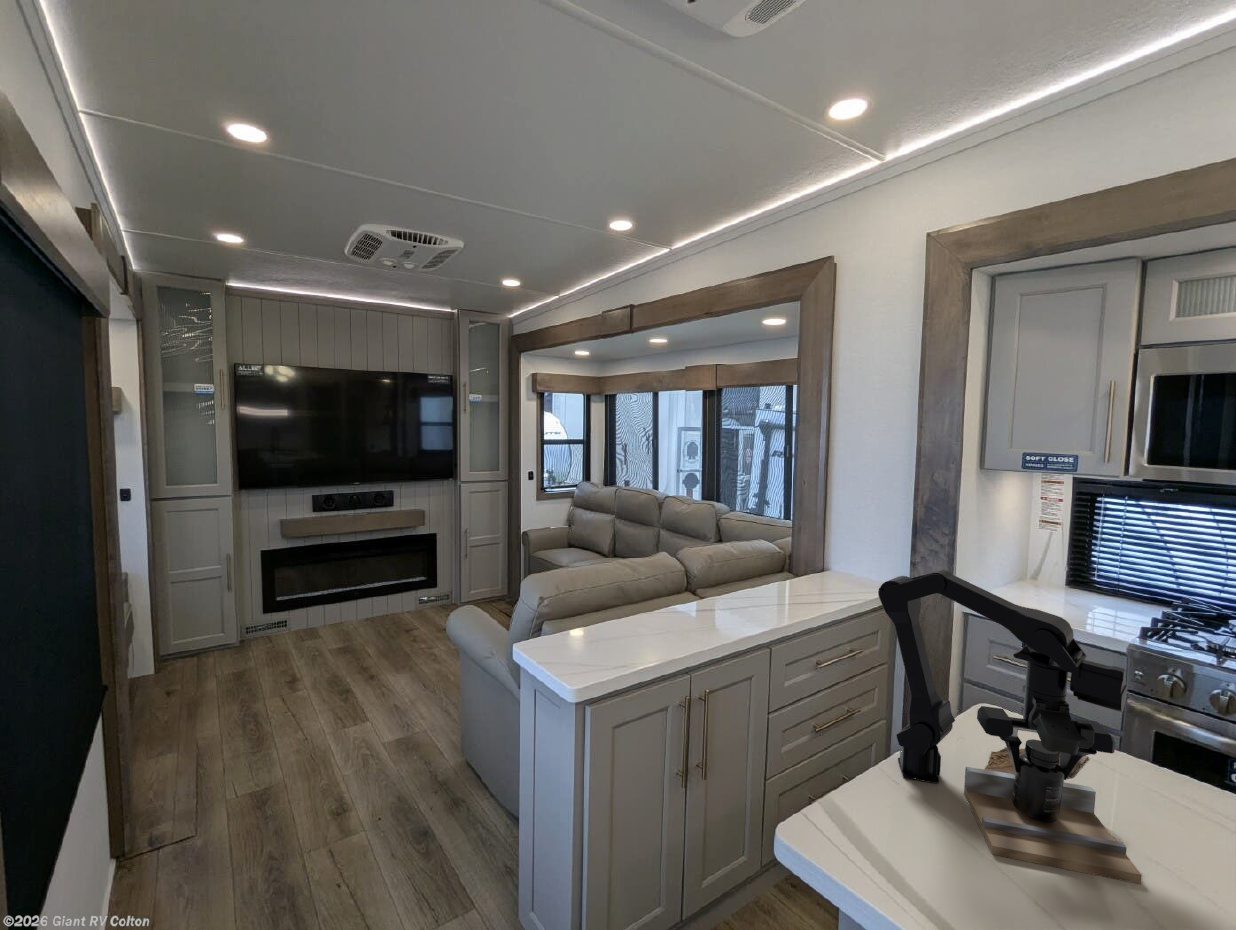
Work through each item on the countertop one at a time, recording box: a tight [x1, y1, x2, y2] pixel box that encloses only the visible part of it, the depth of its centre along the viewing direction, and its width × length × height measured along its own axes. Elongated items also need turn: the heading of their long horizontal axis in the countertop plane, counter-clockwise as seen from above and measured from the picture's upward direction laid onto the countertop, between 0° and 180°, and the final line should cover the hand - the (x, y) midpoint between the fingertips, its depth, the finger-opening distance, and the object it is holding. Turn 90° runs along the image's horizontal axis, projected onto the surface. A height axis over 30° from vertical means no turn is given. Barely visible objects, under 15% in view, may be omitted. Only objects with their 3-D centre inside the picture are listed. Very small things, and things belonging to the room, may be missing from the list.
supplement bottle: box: [1012, 738, 1065, 823], centre depth 100 cm, size 7×7×12 cm
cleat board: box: [963, 766, 1142, 885], centre depth 98 cm, size 20×16×6 cm
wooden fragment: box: [984, 746, 1089, 777], centre depth 119 cm, size 26×11×1 cm, turn 100°
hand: (1039, 774), depth 100 cm, fingers closed on supplement bottle, 7 cm apart
